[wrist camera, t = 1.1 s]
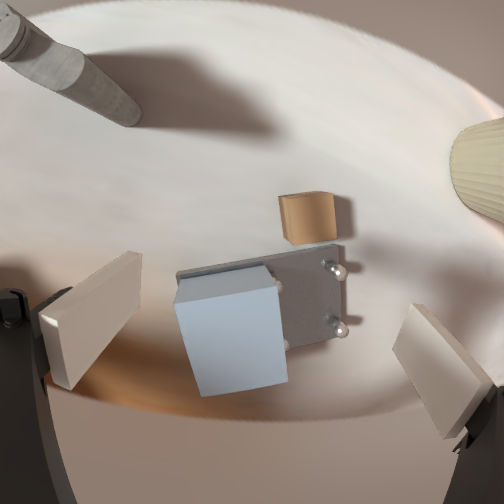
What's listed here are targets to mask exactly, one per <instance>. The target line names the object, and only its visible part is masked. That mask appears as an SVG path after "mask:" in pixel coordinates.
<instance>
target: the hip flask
mask: <svg viewBox="0 0 504 504" xmlns="http://www.w3.org/2000/svg"><path fill="white" fill-rule="evenodd" d="M0 61H2V62H5V63H6V64H7V65H8V66H10V67H11V68H12V69H13V70H15V71H16V72H18V73H19V74H21V75H23V76H24V77H26V78H28V79H29V80H31V81H33V82H35V83H37V84H39V85H42V86H44V87H46V88H48V89H50V90H52V91H54V92H56V93H58V94H60V95H62V96H64V97H66V98H68V99H70V100H72V101H74V102H76V103H78V104H80V105H82V106H84V107H86V108H88V109H90V110H92V111H94V112H96V113H98V114H100V115H102V116H104V117H105V118H107V119H109V120H111V121H113V122H115V123H117V124H119V125H121V126H124V127H131V126H134V125H135V124H137V123H138V122H139V120H140V119H141V116H142V110H141V107H140V106H139V105H138V104H137V103H136V102H135V101H134V100H133V99H132V98H131V97H130V96H129V95H128V94H127V93H126V92H125V91H123V90H122V89H121V88H120V87H119V86H118V85H117V84H116V83H115V82H114V81H113V80H112V79H111V78H110V77H108V76H107V75H106V74H105V73H104V72H103V71H102V70H101V69H100V68H99V67H98V66H97V65H95V64H94V63H93V62H92V61H91V60H90V59H89V58H88V57H87V56H86V55H85V54H83V53H82V52H81V51H80V50H78V49H75V48H72V47H69V46H66V45H63V44H60V43H57V42H55V41H54V40H53V39H52V38H50V37H49V36H48V35H47V34H45V33H44V32H43V31H42V30H40V29H39V28H38V27H36V26H35V25H34V24H33V23H31V22H30V21H29V20H27V19H26V18H25V17H24V16H22V15H21V14H20V13H18V12H17V11H16V10H14V9H13V8H12V7H10V6H9V5H8V4H6V3H1V4H0Z"/></svg>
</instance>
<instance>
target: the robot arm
mask: <svg viewBox="0 0 504 504" xmlns="http://www.w3.org/2000/svg"><path fill="white" fill-rule="evenodd" d="M141 268H142V254H140V253H136V252H131V251H127V252H125V253H124V254H122V255H121V256H119V257H118V258H116V259H115V260H113V261H112V262H110V263H109V264H107V265H106V266H104V267H103V268H101V269H100V270H98V271H97V272H95V273H94V274H92V275H91V276H89V277H88V278H86V279H85V280H84V281H82V282H81V283H79V284H78V285H76V286H75V287H68V288H65V289H62V290H60V291H58V292H57V293H55V294H54V295H52V297H50V298H48V299H47V300H46V302H45V301H44V302H42V303H41V304H40V305H38V306H37V307H35V308H34V309H33V310H31V311H30V312H29V306H28V300H27V295H26V293H25V292H23V291H22V290H18V289H5V290H1V291H0V504H77V501H76V499H75V496H74V493H73V491H72V488H71V485H70V482H69V479H68V476H67V473H66V470H65V467H64V464H63V460H62V457H61V453H60V449H59V446H58V442H57V438H56V434H55V430H54V425H53V420H52V416H51V411H50V405H49V400H48V393H47V387H46V382H45V378H44V376H45V375H46V374H47V372H48V371H49V370H50V372H51V376H52V380H53V383H55V384H57V385H59V386H61V387H64V388H66V389H68V390H70V391H71V390H72V389H73V388H74V386H75V385H76V384H77V382H78V381H79V380H80V379H81V377H82V376H83V375H84V374H85V372H86V371H87V370H88V369H89V367H90V366H91V365H92V364H93V362H94V361H95V360H96V359H97V357H98V356H99V355H100V354H101V353H102V351H103V350H104V349H105V348H106V346H107V345H108V344H109V343H110V342H111V340H112V339H113V338H114V337H115V336H116V334H117V333H118V332H119V331H120V330H121V328H122V327H123V326H124V325H125V324H126V322H127V321H128V320H129V319H130V318H131V317H132V315H133V314H134V313H135V312H136V311H137V310H138V308H139V307H140V291H141ZM392 350H393V352H394V353H395V355H396V357H397V358H398V360H399V362H400V363H401V365H402V367H403V368H404V370H405V372H406V373H407V375H408V377H409V379H410V380H411V382H412V384H413V386H414V387H415V389H416V391H417V393H418V394H419V396H420V398H421V400H422V402H423V403H424V405H425V407H426V409H427V411H428V413H429V414H430V416H431V418H432V420H433V422H434V424H435V426H436V428H437V430H438V431H439V433H440V435H441V437H442V439H449V438H455V437H457V435H458V434H459V433H460V432H461V430H462V429H463V428H464V426H465V427H466V428H467V430H468V432H467V433H466V435H465V436H464V437H463V438H462V440H461V441H460V442H459V443H458V444H457V446H456V447H455V448H454V450H453V452H455V451H456V450H457V449H459V448H460V451H459V452H458V453H457V454H459V456H458V460H457V463H456V466H455V470H454V473H453V476H452V479H451V483H450V486H449V488H448V491H447V494H446V497H445V499H444V502H443V504H504V386H500V387H499V388H497V387H496V385H495V384H494V382H493V381H492V379H491V378H490V377H489V376H488V375H487V373H486V372H485V371H484V370H483V369H482V368H481V366H480V365H479V364H478V363H477V362H476V361H475V360H474V358H473V357H472V356H471V355H470V354H469V353H468V352H467V351H466V350H465V348H464V347H463V346H462V345H461V344H460V343H459V342H458V341H457V340H456V339H455V338H454V336H453V335H452V334H451V333H450V332H449V331H448V330H447V329H446V328H445V327H444V326H443V325H442V324H441V323H440V322H439V321H438V320H437V319H436V318H435V317H434V316H433V315H432V314H431V312H430V311H429V310H428V309H427V308H426V307H425V306H424V305H422V304H415V303H411V304H410V307H409V310H408V312H407V315H406V317H405V320H404V322H403V325H402V327H401V330H400V332H399V334H398V337H397V339H396V341H395V344H394V346H393V348H392Z"/></svg>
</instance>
